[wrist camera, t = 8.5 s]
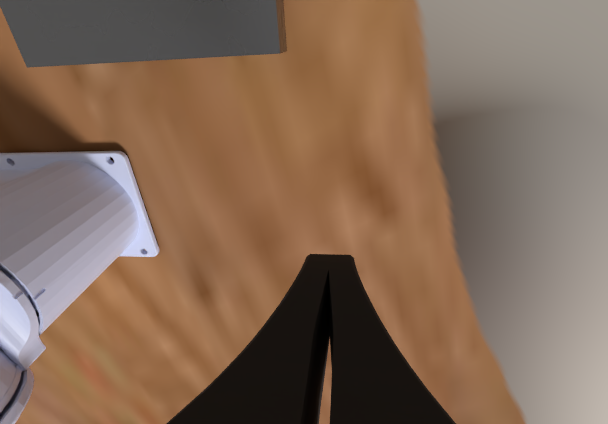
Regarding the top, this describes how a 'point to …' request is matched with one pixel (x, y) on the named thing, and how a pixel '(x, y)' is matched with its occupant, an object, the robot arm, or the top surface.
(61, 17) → the console
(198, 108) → the top surface
